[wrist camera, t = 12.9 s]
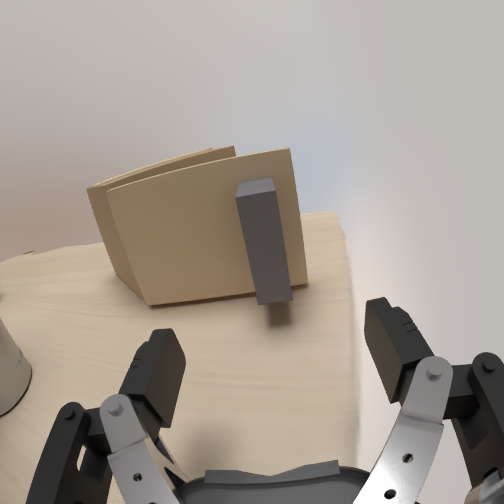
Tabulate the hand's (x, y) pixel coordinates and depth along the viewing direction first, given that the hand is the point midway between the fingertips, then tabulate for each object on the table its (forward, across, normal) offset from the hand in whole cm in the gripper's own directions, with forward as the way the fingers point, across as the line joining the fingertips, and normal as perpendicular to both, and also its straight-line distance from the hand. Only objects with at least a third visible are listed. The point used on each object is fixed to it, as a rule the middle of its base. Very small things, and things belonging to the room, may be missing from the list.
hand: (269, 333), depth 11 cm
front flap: (+11, +5, +6) cm, 14 cm away
